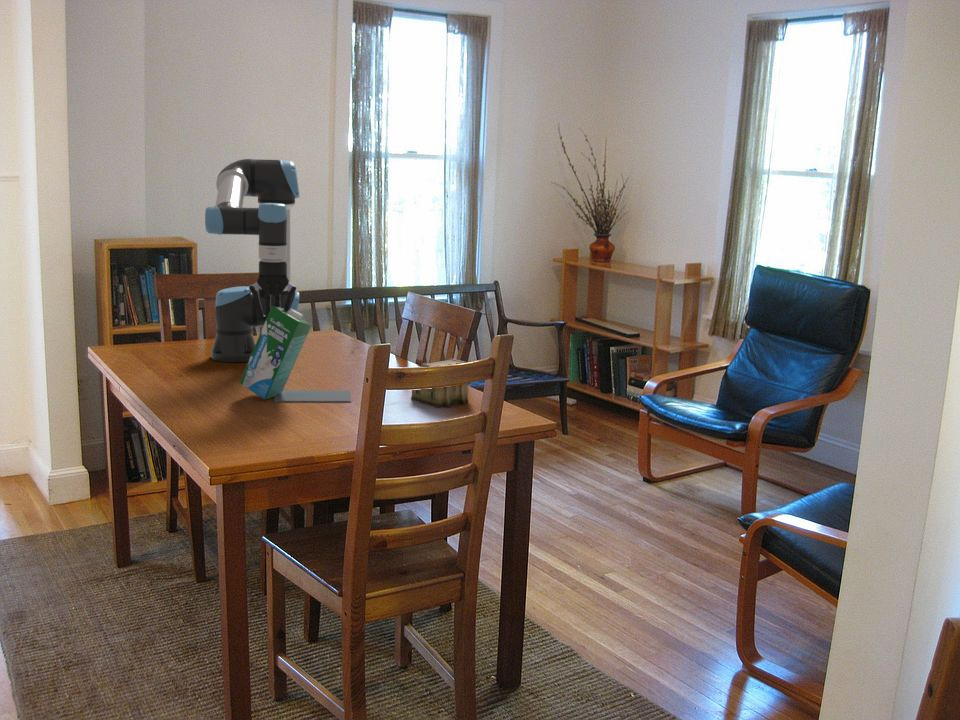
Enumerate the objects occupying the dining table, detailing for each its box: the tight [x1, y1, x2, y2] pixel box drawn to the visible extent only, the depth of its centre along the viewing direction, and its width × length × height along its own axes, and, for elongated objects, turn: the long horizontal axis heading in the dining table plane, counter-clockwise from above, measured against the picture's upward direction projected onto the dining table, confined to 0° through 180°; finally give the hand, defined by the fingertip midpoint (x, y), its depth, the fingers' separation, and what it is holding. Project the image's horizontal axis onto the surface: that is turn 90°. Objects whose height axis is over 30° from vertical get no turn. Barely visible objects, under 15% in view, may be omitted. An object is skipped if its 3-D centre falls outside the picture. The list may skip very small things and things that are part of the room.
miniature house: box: [410, 358, 469, 409], centre depth 270 cm, size 15×14×11 cm
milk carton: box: [239, 306, 313, 400], centre depth 263 cm, size 9×9×25 cm
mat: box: [273, 389, 352, 403], centre depth 269 cm, size 12×21×1 cm, turn 98°
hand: (273, 344), depth 265 cm, fingers closed
